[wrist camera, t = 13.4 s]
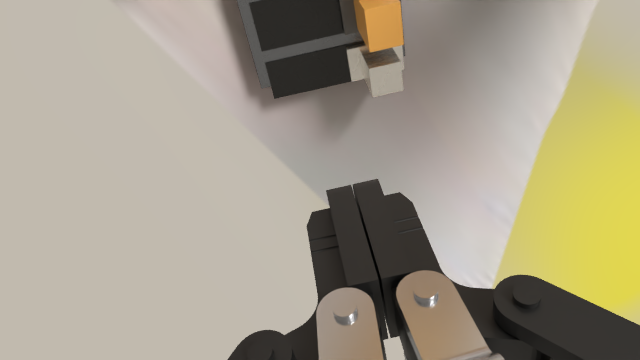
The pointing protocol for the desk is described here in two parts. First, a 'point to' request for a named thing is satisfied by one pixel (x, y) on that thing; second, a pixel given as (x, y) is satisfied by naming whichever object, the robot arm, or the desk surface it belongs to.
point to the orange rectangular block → (374, 22)
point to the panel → (314, 48)
